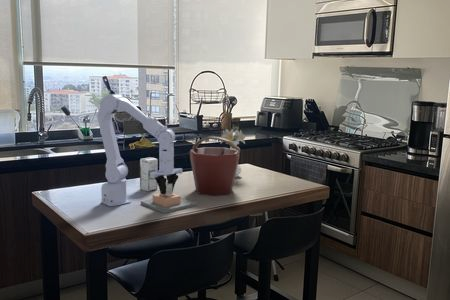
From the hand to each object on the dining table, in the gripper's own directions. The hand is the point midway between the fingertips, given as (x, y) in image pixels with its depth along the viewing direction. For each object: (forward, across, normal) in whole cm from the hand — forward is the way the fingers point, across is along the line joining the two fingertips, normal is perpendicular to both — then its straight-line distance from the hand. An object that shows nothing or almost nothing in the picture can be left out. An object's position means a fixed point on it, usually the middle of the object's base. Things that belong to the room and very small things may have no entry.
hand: (166, 193), depth 181 cm
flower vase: (+5, +59, +23) cm, 64 cm away
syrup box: (+5, +9, +26) cm, 28 cm away
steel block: (+4, 0, 0) cm, 4 cm away
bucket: (+5, +30, +5) cm, 31 cm away
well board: (+5, 0, 0) cm, 5 cm away
